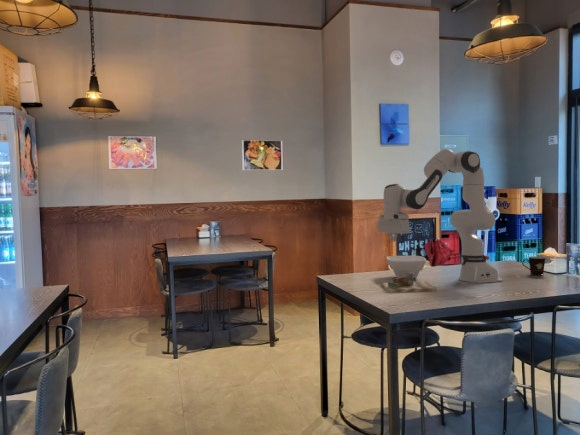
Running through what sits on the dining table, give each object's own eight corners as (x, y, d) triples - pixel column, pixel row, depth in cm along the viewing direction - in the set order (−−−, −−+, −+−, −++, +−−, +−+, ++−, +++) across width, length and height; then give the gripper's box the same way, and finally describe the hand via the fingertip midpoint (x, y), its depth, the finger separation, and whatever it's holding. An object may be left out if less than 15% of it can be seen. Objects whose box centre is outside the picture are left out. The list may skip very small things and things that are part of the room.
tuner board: (425, 284, 252) (425, 276, 252) (436, 291, 234) (436, 283, 234) (381, 285, 251) (381, 278, 251) (389, 292, 233) (389, 284, 233)
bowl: (429, 281, 260) (429, 260, 259) (389, 281, 262) (389, 261, 261) (421, 274, 282) (421, 255, 282) (384, 274, 284) (384, 255, 283)
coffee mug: (545, 273, 273) (545, 256, 273) (544, 276, 266) (544, 258, 266) (523, 272, 280) (523, 255, 279) (522, 274, 272) (522, 257, 272)
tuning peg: (409, 283, 246) (409, 272, 246) (415, 284, 243) (414, 273, 242) (392, 286, 241) (391, 274, 240) (397, 287, 237) (397, 275, 237)
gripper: (374, 214, 252) (375, 240, 253) (402, 216, 234) (402, 243, 235) (383, 214, 255) (383, 239, 256) (411, 215, 238) (411, 242, 238)
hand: (393, 241), depth 245 cm, fingers closed
